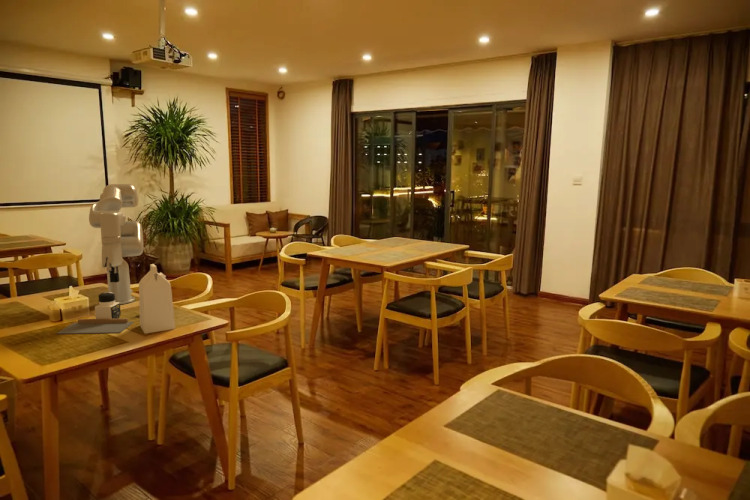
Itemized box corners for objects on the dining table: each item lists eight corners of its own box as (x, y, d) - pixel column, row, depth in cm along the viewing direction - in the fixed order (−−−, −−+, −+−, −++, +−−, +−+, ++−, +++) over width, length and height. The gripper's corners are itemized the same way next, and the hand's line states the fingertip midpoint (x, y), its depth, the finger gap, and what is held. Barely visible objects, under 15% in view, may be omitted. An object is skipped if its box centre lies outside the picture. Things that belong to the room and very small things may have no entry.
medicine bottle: (112, 323, 208) (110, 295, 206) (95, 322, 208) (93, 295, 206) (121, 317, 215) (119, 291, 213) (105, 317, 215) (102, 290, 213)
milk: (140, 325, 205) (135, 264, 200) (169, 320, 211) (165, 261, 207) (144, 333, 195) (140, 269, 191) (175, 328, 201) (171, 266, 197)
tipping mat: (74, 323, 206) (74, 319, 206) (133, 322, 208) (133, 318, 208) (56, 334, 193) (56, 329, 193) (119, 333, 195) (119, 328, 195)
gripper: (110, 238, 221) (113, 278, 224) (94, 243, 206) (97, 285, 209) (127, 238, 222) (130, 278, 224) (112, 242, 207) (115, 285, 209)
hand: (114, 281), depth 217 cm, fingers closed
